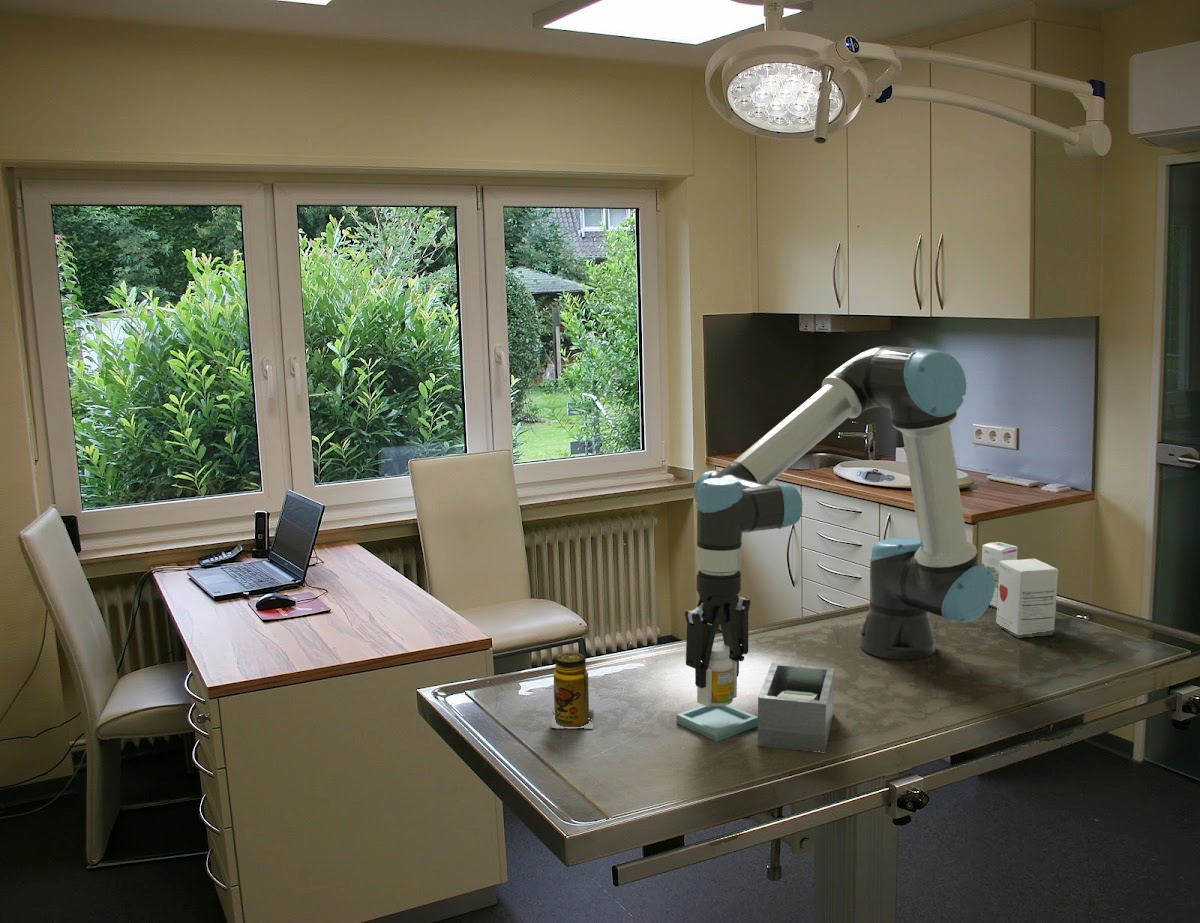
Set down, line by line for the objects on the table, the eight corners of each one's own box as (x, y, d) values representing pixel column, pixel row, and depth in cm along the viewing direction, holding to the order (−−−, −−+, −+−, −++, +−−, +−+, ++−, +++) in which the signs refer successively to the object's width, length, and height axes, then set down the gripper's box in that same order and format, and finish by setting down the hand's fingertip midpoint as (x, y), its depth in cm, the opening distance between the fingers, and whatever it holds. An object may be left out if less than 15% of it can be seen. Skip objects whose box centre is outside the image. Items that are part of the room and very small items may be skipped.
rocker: (780, 700, 195) (780, 689, 195) (819, 704, 193) (820, 693, 193) (773, 707, 186) (774, 695, 186) (814, 711, 184) (815, 699, 184)
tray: (717, 708, 200) (717, 700, 199) (758, 725, 192) (758, 717, 192) (676, 723, 194) (676, 714, 193) (717, 741, 186) (717, 732, 186)
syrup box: (1015, 606, 257) (1019, 545, 255) (998, 610, 254) (1001, 549, 252) (995, 600, 262) (999, 540, 260) (978, 604, 259) (981, 543, 257)
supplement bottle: (696, 697, 194) (696, 644, 192) (724, 693, 195) (724, 640, 194) (710, 709, 189) (710, 654, 187) (738, 704, 190) (739, 650, 189)
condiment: (550, 730, 191) (549, 663, 189) (553, 710, 200) (552, 647, 198) (593, 729, 191) (592, 663, 189) (593, 710, 200) (593, 646, 197)
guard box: (771, 707, 200) (772, 662, 199) (833, 713, 197) (834, 668, 196) (757, 746, 184) (758, 697, 183) (824, 753, 181) (826, 704, 179)
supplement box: (994, 625, 244) (997, 559, 241) (1031, 623, 245) (1035, 557, 243) (1016, 639, 235) (1020, 570, 232) (1055, 636, 237) (1059, 568, 234)
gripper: (740, 556, 197) (738, 681, 201) (663, 574, 185) (662, 706, 189) (772, 565, 191) (769, 693, 195) (694, 584, 179) (693, 720, 183)
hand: (717, 699), depth 192 cm, fingers closed on supplement bottle, 5 cm apart
